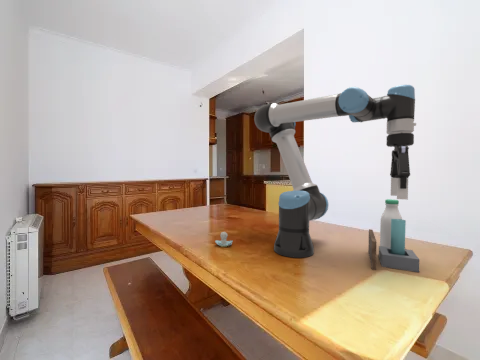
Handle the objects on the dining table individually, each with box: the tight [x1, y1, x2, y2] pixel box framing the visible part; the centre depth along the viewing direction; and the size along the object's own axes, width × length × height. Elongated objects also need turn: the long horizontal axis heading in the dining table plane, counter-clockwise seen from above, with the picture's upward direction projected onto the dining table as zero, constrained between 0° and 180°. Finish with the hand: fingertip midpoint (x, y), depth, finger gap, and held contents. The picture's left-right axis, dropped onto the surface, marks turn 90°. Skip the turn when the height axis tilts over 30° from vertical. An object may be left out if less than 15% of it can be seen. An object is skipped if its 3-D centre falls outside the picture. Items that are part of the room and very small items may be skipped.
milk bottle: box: [379, 198, 403, 247], centre depth 95 cm, size 8×8×20 cm
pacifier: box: [214, 231, 233, 248], centre depth 98 cm, size 7×6×6 cm
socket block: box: [378, 245, 420, 273], centre depth 78 cm, size 10×10×4 cm
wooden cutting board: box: [367, 229, 378, 271], centre depth 82 cm, size 1×18×9 cm, turn 154°
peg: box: [390, 218, 407, 256], centre depth 78 cm, size 4×4×14 cm
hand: (398, 197), depth 78 cm, fingers open, 13 cm apart
